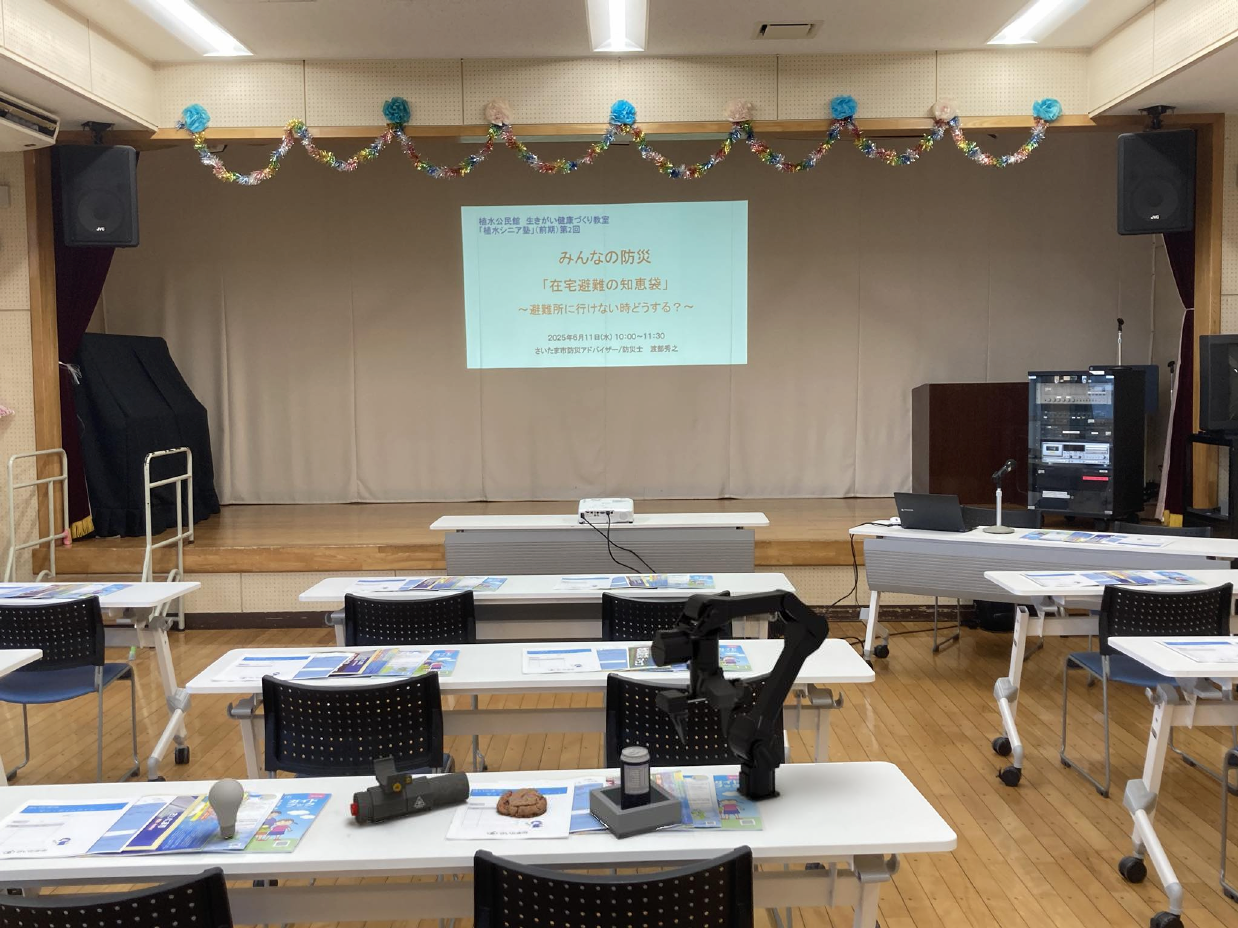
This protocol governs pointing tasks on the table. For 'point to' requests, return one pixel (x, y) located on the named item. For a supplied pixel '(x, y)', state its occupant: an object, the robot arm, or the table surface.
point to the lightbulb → (226, 803)
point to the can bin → (635, 811)
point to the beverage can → (635, 778)
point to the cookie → (522, 803)
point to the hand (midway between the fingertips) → (705, 739)
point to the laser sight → (406, 793)
